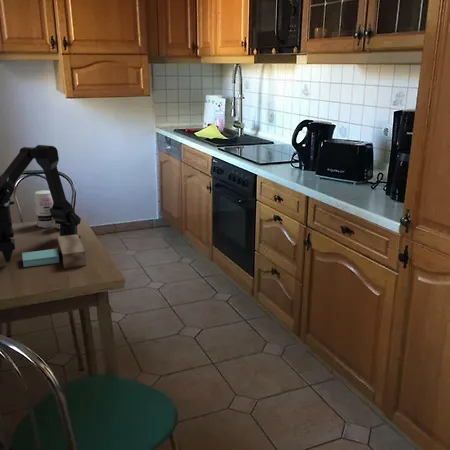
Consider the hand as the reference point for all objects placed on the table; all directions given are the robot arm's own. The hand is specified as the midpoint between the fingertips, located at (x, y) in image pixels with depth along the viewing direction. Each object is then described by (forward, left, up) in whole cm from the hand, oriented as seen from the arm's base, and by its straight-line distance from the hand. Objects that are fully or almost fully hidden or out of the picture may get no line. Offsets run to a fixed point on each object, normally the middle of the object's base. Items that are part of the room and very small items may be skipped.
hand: (7, 261), depth 182 cm
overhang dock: (-17, +14, -1) cm, 22 cm away
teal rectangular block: (-9, +7, -1) cm, 11 cm away
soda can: (-41, -14, -2) cm, 43 cm away
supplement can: (-40, -23, -2) cm, 46 cm away
